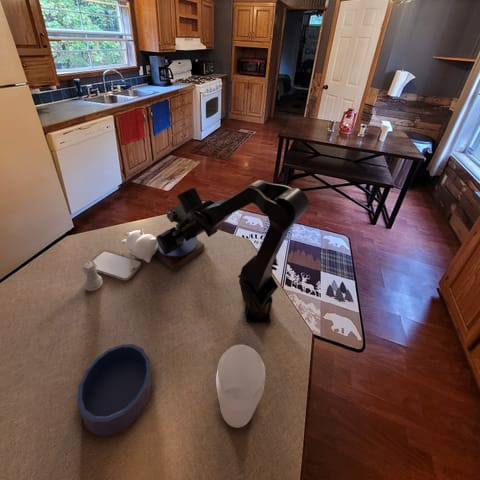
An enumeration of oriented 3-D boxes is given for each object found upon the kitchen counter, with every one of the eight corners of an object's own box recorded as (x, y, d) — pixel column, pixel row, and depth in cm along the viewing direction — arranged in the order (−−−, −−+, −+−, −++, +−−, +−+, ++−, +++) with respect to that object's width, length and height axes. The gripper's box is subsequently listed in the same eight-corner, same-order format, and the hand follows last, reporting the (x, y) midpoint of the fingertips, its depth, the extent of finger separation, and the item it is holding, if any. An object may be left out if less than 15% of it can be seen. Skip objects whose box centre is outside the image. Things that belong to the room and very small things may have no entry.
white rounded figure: (125, 224, 84) (149, 238, 78) (148, 225, 93) (172, 237, 87) (115, 250, 83) (139, 266, 77) (140, 248, 92) (163, 262, 86)
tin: (158, 358, 57) (157, 344, 55) (139, 436, 46) (137, 421, 44) (101, 357, 56) (98, 343, 55) (67, 436, 45) (62, 422, 43)
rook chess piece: (81, 288, 72) (76, 267, 69) (95, 276, 76) (90, 256, 73) (93, 294, 70) (88, 273, 67) (106, 282, 74) (102, 261, 71)
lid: (201, 253, 83) (201, 238, 81) (158, 262, 79) (157, 247, 76) (193, 228, 95) (193, 214, 93) (155, 234, 90) (154, 220, 88)
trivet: (204, 249, 89) (204, 244, 88) (174, 271, 80) (174, 265, 79) (180, 232, 96) (180, 227, 95) (150, 251, 87) (149, 245, 86)
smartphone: (104, 250, 84) (142, 262, 81) (104, 253, 85) (142, 264, 81) (85, 266, 78) (126, 279, 74) (86, 269, 78) (127, 282, 75)
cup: (256, 443, 46) (263, 408, 41) (208, 428, 47) (210, 392, 42) (262, 385, 54) (268, 350, 49) (221, 373, 55) (223, 338, 51)
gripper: (206, 190, 84) (184, 205, 95) (158, 214, 70) (139, 228, 81) (222, 219, 83) (199, 231, 93) (177, 250, 69) (155, 260, 79)
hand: (174, 236), depth 87 cm, fingers closed on lid, 2 cm apart
